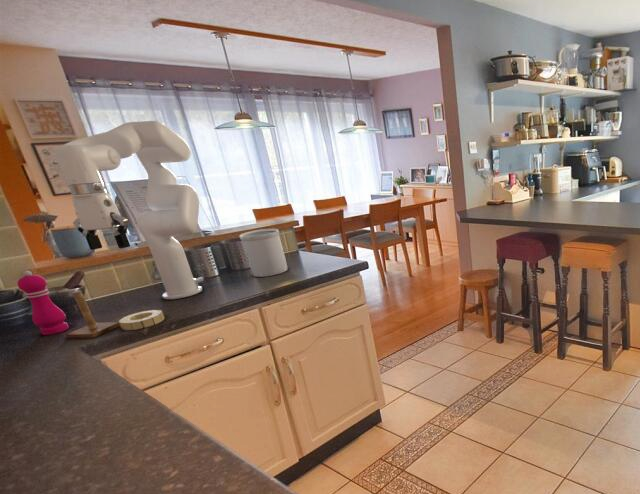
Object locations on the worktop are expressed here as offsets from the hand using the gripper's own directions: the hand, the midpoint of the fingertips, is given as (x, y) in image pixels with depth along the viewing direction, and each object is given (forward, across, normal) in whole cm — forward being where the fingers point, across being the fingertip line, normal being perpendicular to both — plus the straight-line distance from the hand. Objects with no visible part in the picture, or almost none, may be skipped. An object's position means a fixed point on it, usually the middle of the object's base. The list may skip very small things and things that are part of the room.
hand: (110, 248), depth 132 cm
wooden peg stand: (+25, +9, +7) cm, 27 cm away
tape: (+24, -2, 0) cm, 25 cm away
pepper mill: (+25, +24, +6) cm, 35 cm away
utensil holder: (+23, -10, -54) cm, 59 cm away
